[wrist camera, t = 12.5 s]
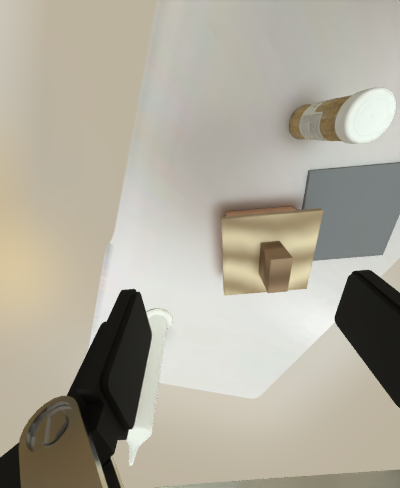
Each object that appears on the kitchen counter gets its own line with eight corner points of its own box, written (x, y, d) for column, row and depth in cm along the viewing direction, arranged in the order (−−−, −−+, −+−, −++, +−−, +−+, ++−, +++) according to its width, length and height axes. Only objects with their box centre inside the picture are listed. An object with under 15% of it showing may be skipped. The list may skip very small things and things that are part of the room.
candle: (160, 332, 52) (135, 477, 30) (137, 319, 50) (93, 466, 28) (178, 318, 50) (167, 464, 28) (156, 303, 47) (124, 451, 26)
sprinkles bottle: (320, 101, 29) (405, 81, 18) (317, 136, 32) (391, 139, 20) (288, 108, 30) (351, 92, 18) (287, 142, 32) (342, 148, 20)
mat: (308, 170, 34) (310, 171, 33) (417, 160, 34) (421, 161, 33) (293, 260, 43) (294, 262, 42) (380, 253, 42) (382, 254, 42)
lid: (221, 216, 31) (226, 234, 26) (319, 208, 31) (345, 223, 26) (223, 291, 38) (228, 317, 33) (303, 285, 38) (321, 309, 33)
